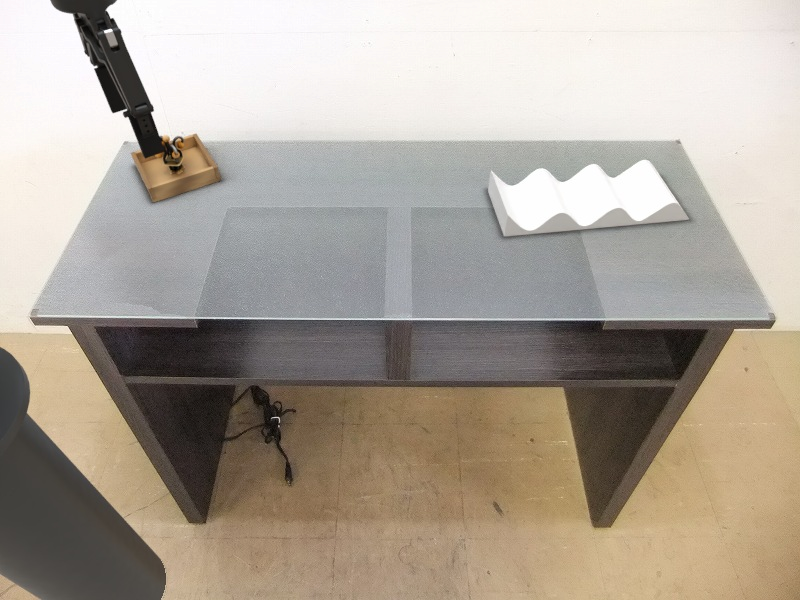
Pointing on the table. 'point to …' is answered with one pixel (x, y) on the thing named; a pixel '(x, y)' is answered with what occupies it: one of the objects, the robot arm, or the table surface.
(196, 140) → the tray
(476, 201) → the table surface
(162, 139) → the gold potted plant ornament
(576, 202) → the white wavy block
